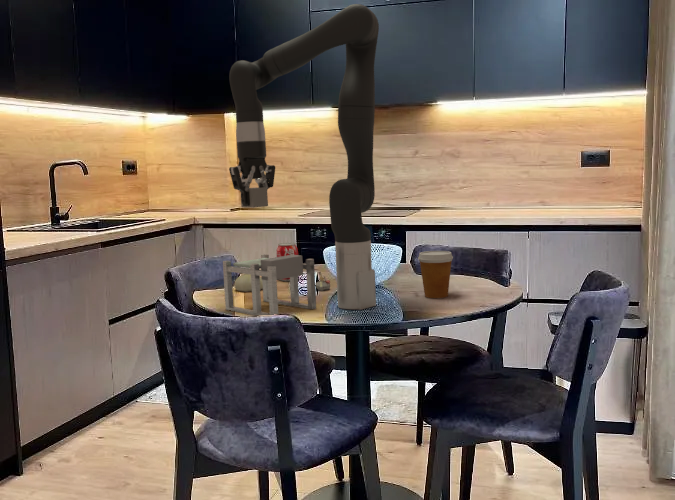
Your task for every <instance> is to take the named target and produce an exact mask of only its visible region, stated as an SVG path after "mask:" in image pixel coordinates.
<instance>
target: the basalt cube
mask: <svg viewBox="0 0 675 500" xmlns="http://www.w3.org/2000/svg"><path fill="white" fill-rule="evenodd" d="M248 192H249V196H250V206H243V204H242V202H241V201H240V205H241V207H240V208H242V209H243V208H244V209H245V208H248V209H249V208H252V209H254V208H262V207H263V208H265V207H269V198H268V190H267V187H258V186H257V187H255V186H254V187H249V190H248Z"/></svg>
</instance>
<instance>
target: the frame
mask: <svg viewBox="0 0 675 500" xmlns="http://www.w3.org/2000/svg"><path fill="white" fill-rule="evenodd" d="M269 256H270V255H269V254H264V253H263V254H260V259H261V258H270V257H269ZM250 267H251V268H245V267H237V266H232V261H231V260H222V270H223V286H224V287H223V289H224V303H225V304H224V305H225V306H224V307H225V311H229V310H231V311H230V312H234V311H235V313H241V314H247V315H250V316H255V315H274V314H278V315H279V305H285V306H288V307H289V306H290V307H295V308H300V309H301V308H302V309H307V310H317V296H316V295H317V294H316V292H317V291H316V274H315V273H316V271H315V259H314V258H306V259H305V262H304V263H303V270H306V271H305V273H306V290H307V291H306V293H307V294H306V295H307V303H304V302H303V303H302V302H300V295H299V294H300V292H299V278H298V276H295V277H290V281H289V288H290V300H285V299H279V298H278V297H279V296H278V286H277V285H278V282H277V281H278V280H277V278H276V266H267V271H265V270H261V266H259V264H250ZM232 273H238V274H242V275H244V274H251V284H252V291H251V297H252V298H251V299H252V309H249V308H243V307H238V306H234V293H233V292H234V291H233V276H232ZM262 276H266V277H268V280H262V283H263V288H262V295H263V296H261V290H260V277H262ZM262 298H263V300H262ZM262 301H263V302H265V303H266V302H267V303H268V304H269V312H264V311H262Z"/></svg>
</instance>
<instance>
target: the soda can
mask: <svg viewBox="0 0 675 500" xmlns="http://www.w3.org/2000/svg"><path fill="white" fill-rule="evenodd" d="M298 250H299V249H298V246H297V243H296V242H282V243H277V247H276V257H281V256H287V255H299V251H298ZM279 281H281V282H290V278H285V279H280V280H279Z"/></svg>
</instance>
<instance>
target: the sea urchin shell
mask: <svg viewBox="0 0 675 500" xmlns="http://www.w3.org/2000/svg"><path fill="white" fill-rule="evenodd" d="M234 289H235V290H237V291H239V292H244V293H249V292H252V284H251V274H242V275H240V276H238V277H237V278H236V279H235V281H234ZM261 290H263V283H262V276H260V291H261Z"/></svg>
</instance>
